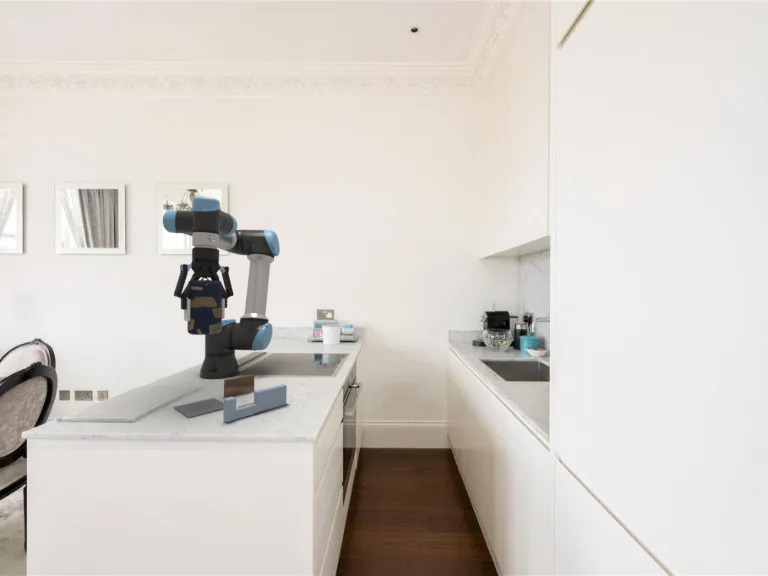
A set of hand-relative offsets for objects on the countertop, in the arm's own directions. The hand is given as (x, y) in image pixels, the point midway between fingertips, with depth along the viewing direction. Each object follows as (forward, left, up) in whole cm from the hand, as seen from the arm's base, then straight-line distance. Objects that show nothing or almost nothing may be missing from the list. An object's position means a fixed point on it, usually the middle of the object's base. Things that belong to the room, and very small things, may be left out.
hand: (204, 319), depth 106 cm
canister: (0, 0, -5) cm, 5 cm away
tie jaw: (+16, +9, -27) cm, 33 cm away
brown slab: (+6, +14, -28) cm, 31 cm away
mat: (0, 0, -28) cm, 28 cm away
